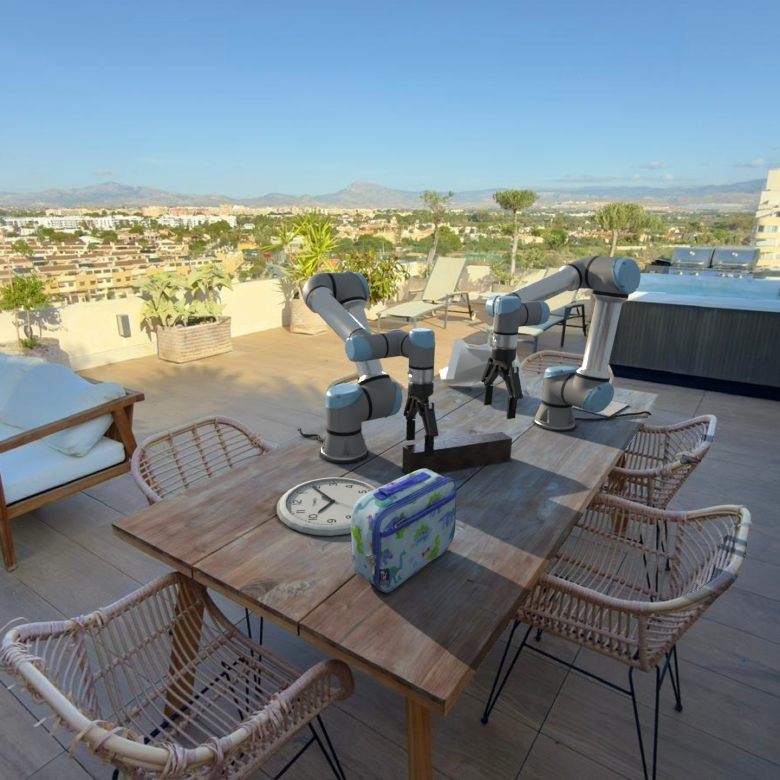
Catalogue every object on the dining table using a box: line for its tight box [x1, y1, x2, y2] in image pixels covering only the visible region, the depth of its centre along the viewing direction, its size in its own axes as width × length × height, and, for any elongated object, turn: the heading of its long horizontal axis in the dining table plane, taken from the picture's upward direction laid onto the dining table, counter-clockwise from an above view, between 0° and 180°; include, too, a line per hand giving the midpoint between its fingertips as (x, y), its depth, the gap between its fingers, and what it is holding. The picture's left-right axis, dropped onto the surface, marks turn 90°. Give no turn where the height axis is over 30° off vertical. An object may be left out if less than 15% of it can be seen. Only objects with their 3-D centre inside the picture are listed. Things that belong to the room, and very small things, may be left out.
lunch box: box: [350, 469, 457, 593], centre depth 114 cm, size 26×11×21 cm, turn 134°
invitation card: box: [573, 400, 629, 417], centre depth 226 cm, size 21×1×15 cm
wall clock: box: [276, 476, 378, 537], centre depth 142 cm, size 30×2×30 cm
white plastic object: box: [438, 338, 531, 397], centre depth 245 cm, size 37×45×31 cm
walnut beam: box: [401, 431, 513, 475], centre depth 167 cm, size 36×6×8 cm, turn 111°
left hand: (419, 447), depth 161 cm, fingers open, 13 cm apart
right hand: (498, 411), depth 168 cm, fingers open, 13 cm apart
